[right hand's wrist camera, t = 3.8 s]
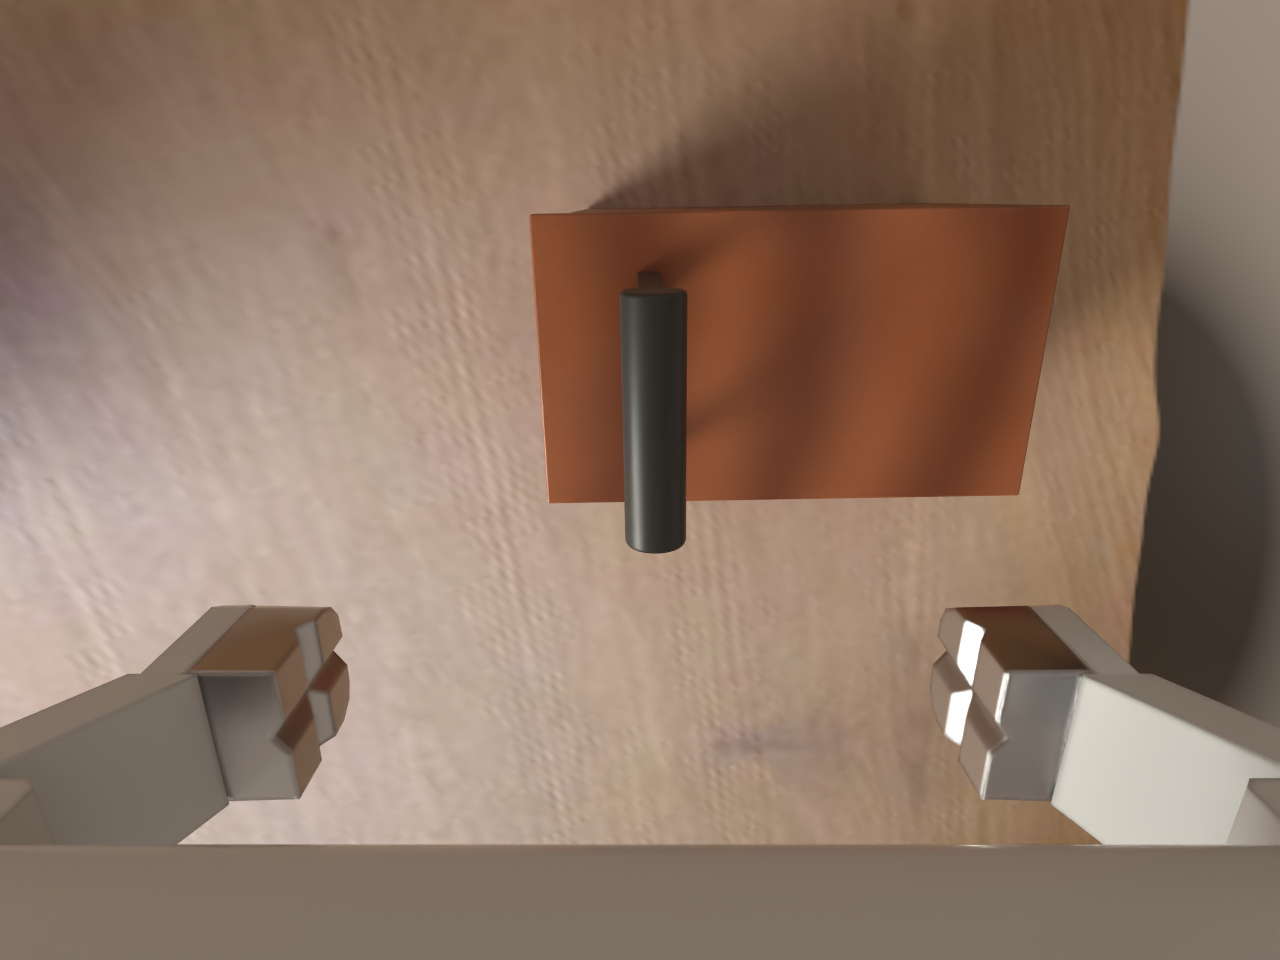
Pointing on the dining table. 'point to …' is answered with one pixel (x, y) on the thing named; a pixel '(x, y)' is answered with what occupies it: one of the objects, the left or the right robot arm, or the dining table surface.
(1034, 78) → the dining table surface
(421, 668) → the dining table surface
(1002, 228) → the lid
